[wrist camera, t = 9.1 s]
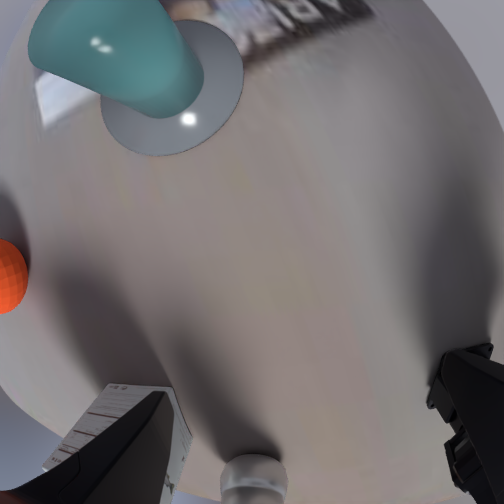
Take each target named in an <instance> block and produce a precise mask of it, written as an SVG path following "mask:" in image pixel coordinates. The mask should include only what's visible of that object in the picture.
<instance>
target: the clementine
mask: <svg viewBox="0 0 504 504" xmlns="http://www.w3.org/2000/svg"><path fill="white" fill-rule="evenodd" d="M27 284H28V272H27V266H26V263H25V260H24V258H23V256H22V254H21V253H20V251H19V250H18V249H17V248H16V247H15V246H14V245H13V244H12V243H10V242H8V241H6V240H3V239H0V314H3V313H7V312H9V311H11V310H13V309H14V308H15V307H16V306H17V305H18V304H20V302H21V300H22V299H23V297H24V295H25V293H26V289H27Z"/></svg>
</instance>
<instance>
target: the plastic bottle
mask: <svg viewBox="0 0 504 504" xmlns="http://www.w3.org/2000/svg"><path fill="white" fill-rule="evenodd" d="M287 487H288V478H287V473H286V470H285V468H284V466H283V465H282V464H281V463H280V462H278V461H277V460H276V459H274V458H272V457H269V456H265V455H260V454H246V455H241V456H238V457H235V458H234V459H232V460H231V461H230V462H228V463H227V464H226V465H225V467H224V470H223V472H222V474H221V477H220V490H221V504H284V500H285V497H286V493H287Z"/></svg>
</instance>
